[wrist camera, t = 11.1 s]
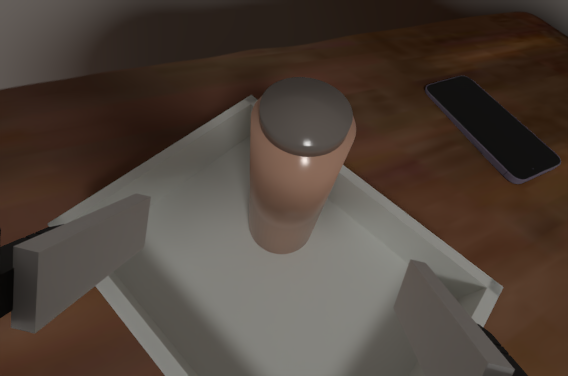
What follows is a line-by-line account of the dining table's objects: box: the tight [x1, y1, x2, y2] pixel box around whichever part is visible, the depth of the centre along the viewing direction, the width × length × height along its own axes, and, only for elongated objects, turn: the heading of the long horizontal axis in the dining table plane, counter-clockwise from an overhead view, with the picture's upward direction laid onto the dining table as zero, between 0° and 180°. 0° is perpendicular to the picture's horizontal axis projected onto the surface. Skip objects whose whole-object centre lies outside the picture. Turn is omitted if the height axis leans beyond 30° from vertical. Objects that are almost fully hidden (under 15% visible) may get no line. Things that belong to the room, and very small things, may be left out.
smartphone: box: [425, 76, 561, 184], centre depth 35 cm, size 7×1×15 cm
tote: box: [48, 95, 503, 376], centre depth 22 cm, size 24×18×5 cm
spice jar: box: [249, 77, 356, 254], centre depth 20 cm, size 5×5×13 cm
